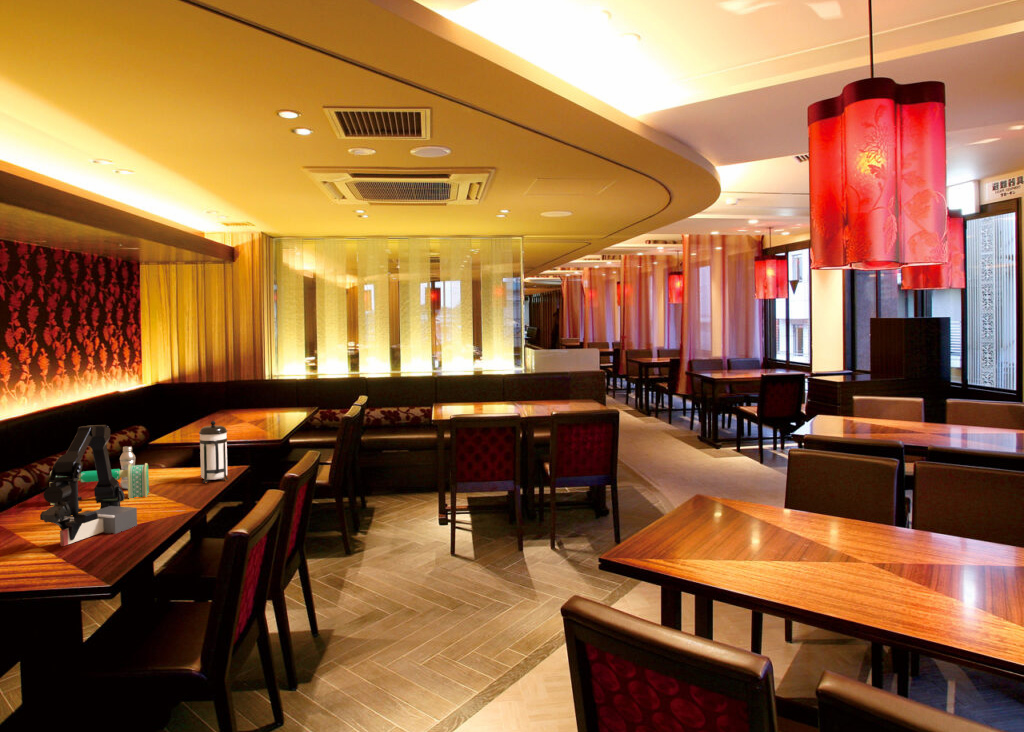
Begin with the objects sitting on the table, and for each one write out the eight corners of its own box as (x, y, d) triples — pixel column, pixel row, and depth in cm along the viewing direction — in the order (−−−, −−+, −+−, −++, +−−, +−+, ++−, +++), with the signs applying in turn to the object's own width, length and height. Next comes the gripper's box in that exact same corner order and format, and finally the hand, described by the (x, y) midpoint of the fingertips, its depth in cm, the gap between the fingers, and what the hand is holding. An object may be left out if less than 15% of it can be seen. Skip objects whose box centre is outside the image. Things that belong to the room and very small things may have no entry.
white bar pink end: (107, 529, 236) (106, 515, 236) (110, 529, 236) (109, 515, 235) (60, 545, 217) (59, 530, 217) (63, 546, 217) (63, 531, 217)
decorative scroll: (149, 493, 290) (148, 461, 290) (146, 498, 283) (145, 464, 282) (55, 501, 276) (54, 467, 276) (50, 506, 269) (49, 471, 268)
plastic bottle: (129, 490, 295) (128, 448, 294) (117, 489, 296) (115, 447, 295) (140, 487, 301) (139, 445, 300) (128, 486, 303) (126, 445, 302)
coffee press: (189, 483, 310) (187, 422, 309) (213, 476, 325) (211, 418, 324) (218, 485, 305) (216, 424, 304) (241, 478, 320) (239, 419, 319)
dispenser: (110, 523, 244) (110, 505, 243) (137, 525, 241) (136, 507, 241) (85, 532, 233) (85, 513, 233) (113, 534, 230) (112, 515, 230)
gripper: (24, 500, 213) (25, 545, 214) (69, 503, 209) (71, 549, 210) (54, 491, 224) (56, 535, 225) (98, 495, 220) (99, 538, 221)
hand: (69, 539), depth 220 cm, fingers closed on white bar pink end
